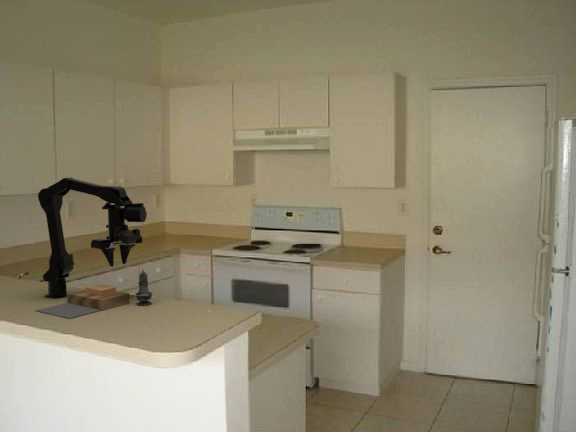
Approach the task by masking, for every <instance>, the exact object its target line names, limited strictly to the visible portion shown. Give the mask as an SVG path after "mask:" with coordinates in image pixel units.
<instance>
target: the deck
mask: <svg viewBox="0 0 576 432" xmlns="http://www.w3.org/2000/svg"><path fill="white" fill-rule="evenodd" d="M66 298H67V302H66V303H71V304H76V305H81V306H86V307H90V308H95V309H100V310H101V311H100V312H102V311H106V310H108V309H109V310H110V309H113V308H117V307H120V306H123V305H127V304H130V303H131V302H130V298H131V297H130V292H124V291H118V290H116V293H113V294H109V295H105V296H98V295H93V294H88V293H85V289H82V290H78V291H73V292H69V293H68V292H67V296H66Z"/></svg>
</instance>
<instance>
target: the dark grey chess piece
mask: <svg viewBox="0 0 576 432" xmlns="http://www.w3.org/2000/svg"><path fill="white" fill-rule="evenodd" d="M137 284H138V288H139V289H138V292H136V293H135V294H134V296H135V297H136V300H137V301H138V302H137V303H136V304H135V305H136V306H139V307H145V306H146V307H147V306H150V305H152V304H153V303H152V302H151V301H150V300H152V296H153V292H150V290H149V281H148V273H147V272H146V271H144V269H142V271H141V272H140V273H139V274H138V282H137Z"/></svg>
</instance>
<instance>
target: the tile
mask: <svg viewBox="0 0 576 432" xmlns="http://www.w3.org/2000/svg"><path fill="white" fill-rule="evenodd" d="M84 290H85V293H88V294H93V295H98V296H105V295H109V294H113V293H116V291H117V287H116V286H111V285H106V284H99V283H97V284H93V285H89V286H86V287H84Z"/></svg>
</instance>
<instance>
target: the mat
mask: <svg viewBox="0 0 576 432" xmlns="http://www.w3.org/2000/svg"><path fill="white" fill-rule="evenodd" d="M35 312H38V313H43V314H46V315H51V316H55V317H59V318H64V319H68V320H71V319H75V318H79V317H83V316H86V315H90V314H94V313H99V312H102V311H101V310H100V309H95V308H90V307H86V306H81V305H76V304H71V303H67V302H65V303H59V304H56V305H51V306H47V307H44V308H43V307H42V308H39V309H36V310H35Z"/></svg>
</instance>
